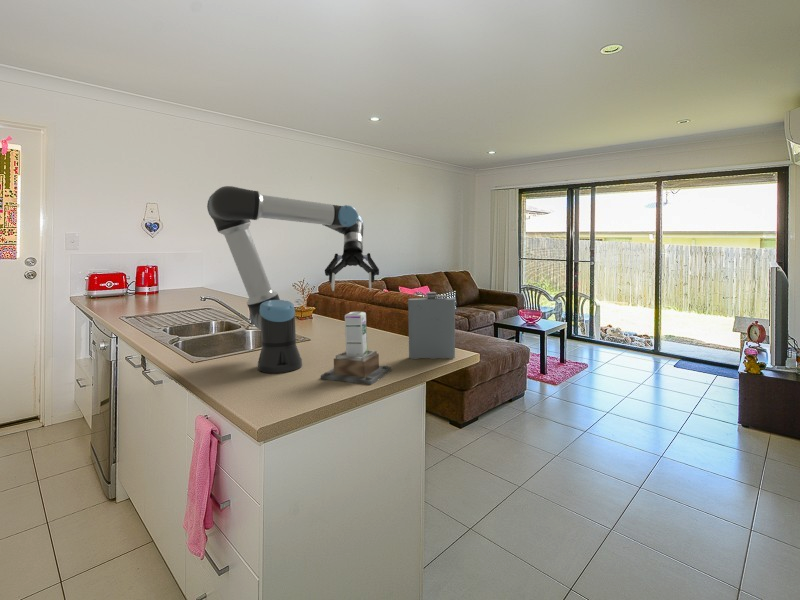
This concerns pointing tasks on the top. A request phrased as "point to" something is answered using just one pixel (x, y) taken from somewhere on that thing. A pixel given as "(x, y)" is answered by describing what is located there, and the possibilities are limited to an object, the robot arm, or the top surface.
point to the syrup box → (356, 334)
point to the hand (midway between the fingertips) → (351, 288)
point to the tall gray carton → (431, 327)
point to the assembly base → (357, 379)
